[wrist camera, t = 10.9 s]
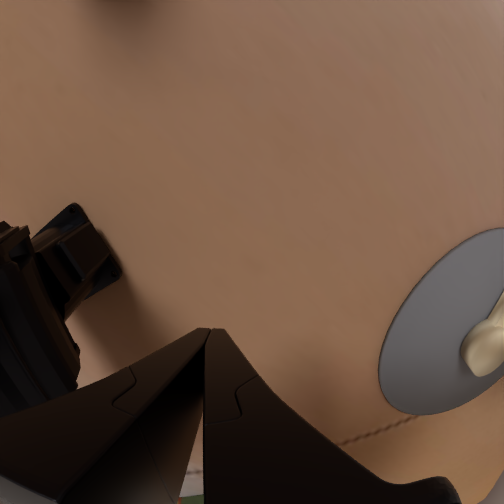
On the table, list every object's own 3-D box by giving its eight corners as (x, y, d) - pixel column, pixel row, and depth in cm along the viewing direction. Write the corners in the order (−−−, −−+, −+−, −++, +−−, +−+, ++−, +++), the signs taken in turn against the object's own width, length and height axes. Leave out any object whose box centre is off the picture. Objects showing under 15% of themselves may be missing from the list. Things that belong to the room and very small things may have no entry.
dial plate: (399, 435, 30) (401, 440, 29) (346, 306, 23) (348, 311, 22) (537, 346, 26) (540, 349, 25) (539, 188, 19) (544, 190, 18)
